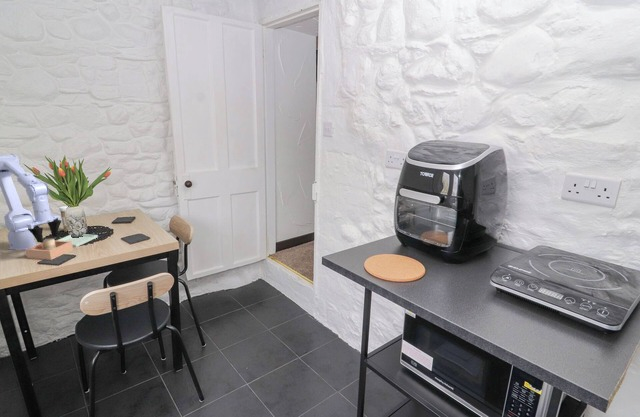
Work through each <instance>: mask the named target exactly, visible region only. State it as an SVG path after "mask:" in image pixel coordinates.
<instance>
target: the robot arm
mask: <svg viewBox="0 0 640 417" xmlns="http://www.w3.org/2000/svg"><path fill="white" fill-rule="evenodd" d="M12 175H14V176H15V177H17V178H16V180H17V182H18V183H19V184H20V185H21V186H22V187H23V188H24V189H25V192H26V195H27V196H28V199H29V201H30V202H31V206H32V211H33V213H34V214H33V213H32V212H31V210H29V209H26V208H24V207H23V204H22V202H21V199H20V196H19V194H18V191H17V189H16V186H15V184H14V181H13V178H12ZM0 190H1V192H2V196H3V198H4V200H5V203H6V205H7V207H8V209H9V210H8V212H7V213H6V214H5V215H4V217H3V218H4V223H5V227H6V229H7V231H8V233H7V240H8V244H9V248H8V250H12V251H13V250H14V251H16V250H19V251H20V250H21V251H25V249H28V248H30V247H33V246H35V245H38V244H40V243H42V242H43V240H44V236H43V231H44V227H41V226H42V225H46V224H47V225H48V227H49V229H50V233H51V235H52V237H58V235H59V229H60V226H61V224H62V219H61V217H60V215H61V214H60V215H59V214H55V215H52V213H51V208H50V204H49V198H48V195H49V193H50V189H49V186H48V184H47V183H46V182H45V181H39V179H37V178H36V177H35V176H34V175H33V174H32V173H30V172H27V171H25V169H23V167H22V166H21V164H20V158H19V157H18V156H17V155H16V154H14V153H11V154H3V155H0ZM35 240H36V241H35Z"/></svg>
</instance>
